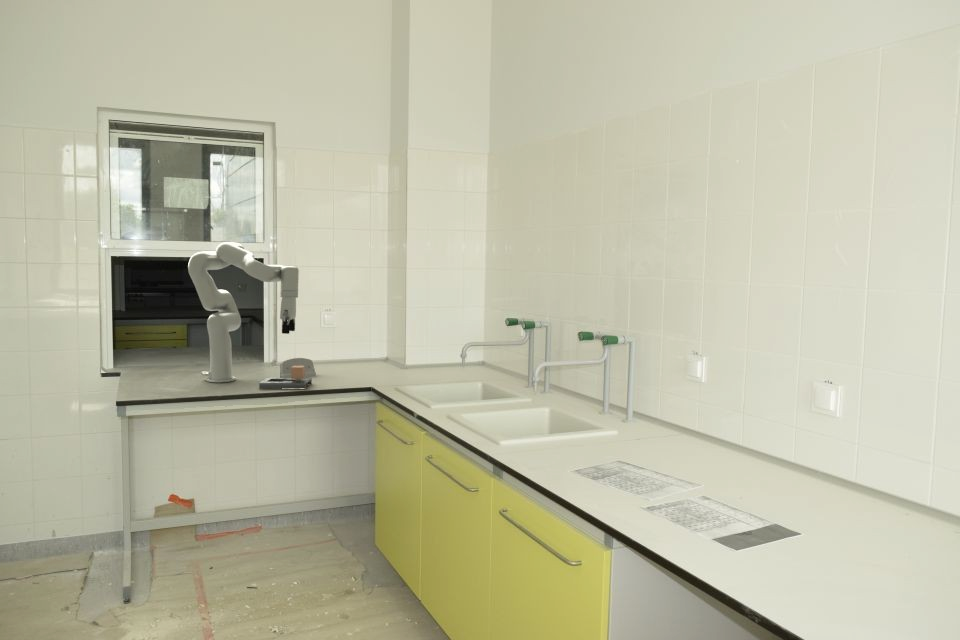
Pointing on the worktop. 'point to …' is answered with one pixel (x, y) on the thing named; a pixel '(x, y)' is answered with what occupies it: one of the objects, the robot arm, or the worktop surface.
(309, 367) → the grey arched block
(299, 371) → the t peg
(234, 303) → the robot arm
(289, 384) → the keyhole plate
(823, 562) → the worktop surface
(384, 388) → the worktop surface
